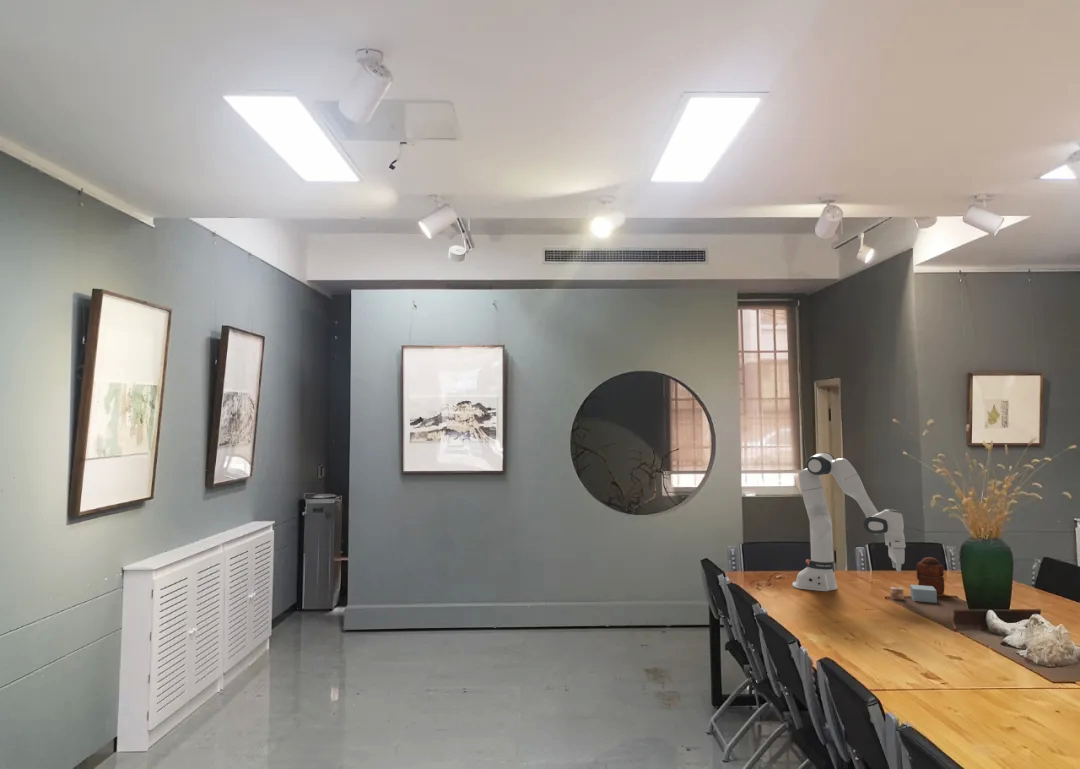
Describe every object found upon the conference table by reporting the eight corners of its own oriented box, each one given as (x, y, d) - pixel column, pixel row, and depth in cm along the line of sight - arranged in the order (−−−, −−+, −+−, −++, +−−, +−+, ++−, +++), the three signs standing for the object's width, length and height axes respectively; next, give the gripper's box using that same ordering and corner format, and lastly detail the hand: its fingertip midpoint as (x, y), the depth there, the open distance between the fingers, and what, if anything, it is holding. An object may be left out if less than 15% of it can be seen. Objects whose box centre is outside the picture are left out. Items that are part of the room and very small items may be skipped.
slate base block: (913, 601, 324) (913, 588, 324) (910, 596, 333) (910, 584, 334) (937, 603, 320) (936, 590, 321) (933, 598, 330) (932, 586, 330)
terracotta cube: (892, 599, 328) (892, 588, 328) (890, 596, 333) (890, 586, 333) (903, 599, 326) (903, 589, 327) (901, 597, 331) (901, 587, 331)
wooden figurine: (941, 591, 342) (940, 556, 343) (945, 594, 336) (943, 558, 337) (916, 590, 346) (914, 555, 347) (919, 593, 340) (917, 557, 341)
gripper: (884, 538, 342) (886, 565, 341) (891, 544, 323) (893, 573, 322) (897, 538, 340) (899, 566, 339) (906, 545, 321) (908, 574, 320)
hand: (896, 569), depth 330 cm, fingers open, 8 cm apart
